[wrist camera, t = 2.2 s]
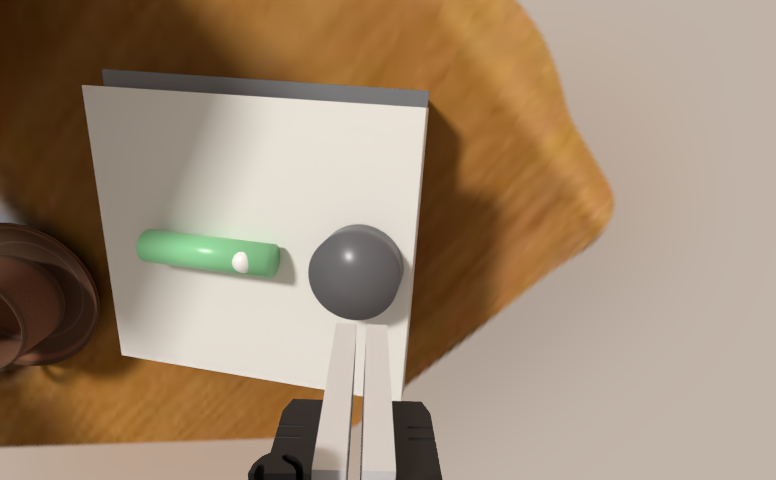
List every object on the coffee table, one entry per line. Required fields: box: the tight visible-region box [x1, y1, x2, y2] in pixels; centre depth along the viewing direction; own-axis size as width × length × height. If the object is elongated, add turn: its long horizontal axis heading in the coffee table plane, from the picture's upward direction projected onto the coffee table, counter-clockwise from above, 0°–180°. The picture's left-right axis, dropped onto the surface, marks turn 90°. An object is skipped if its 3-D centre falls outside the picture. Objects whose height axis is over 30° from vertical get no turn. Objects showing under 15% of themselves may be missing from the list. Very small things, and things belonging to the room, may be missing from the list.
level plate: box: [82, 85, 429, 401], centre depth 25 cm, size 20×18×4 cm
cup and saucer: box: [0, 223, 100, 369], centre depth 31 cm, size 12×12×6 cm
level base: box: [102, 69, 429, 108], centre depth 31 cm, size 20×20×4 cm
